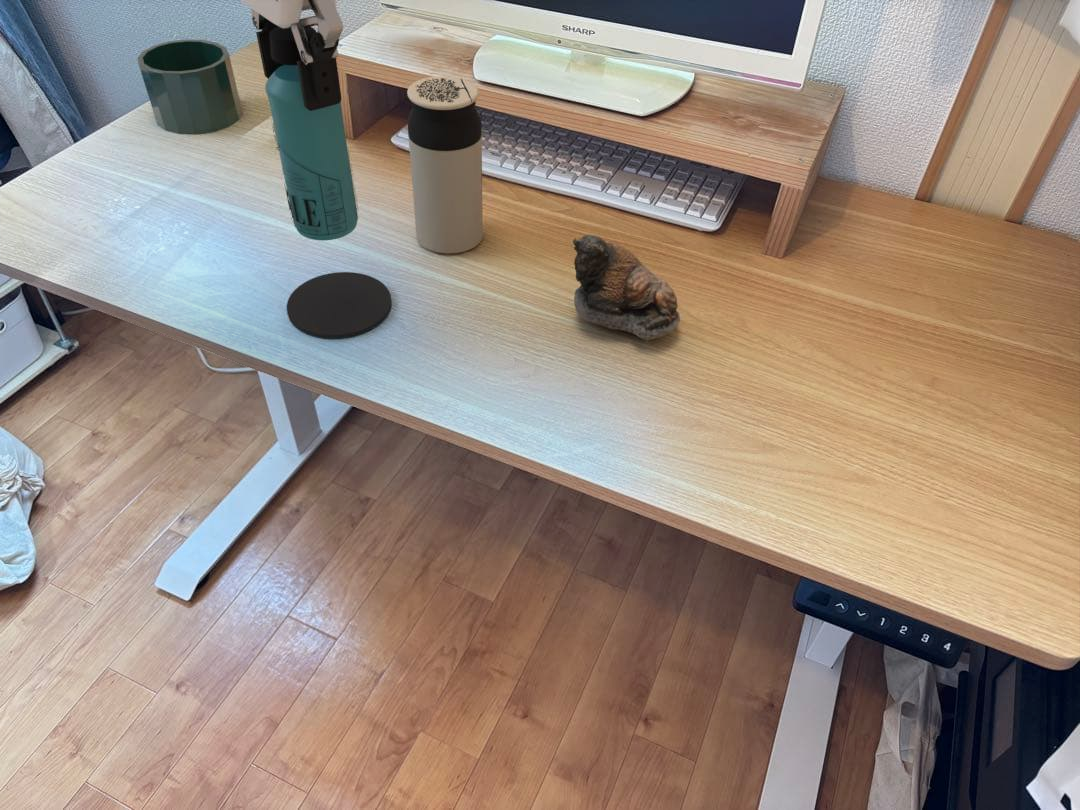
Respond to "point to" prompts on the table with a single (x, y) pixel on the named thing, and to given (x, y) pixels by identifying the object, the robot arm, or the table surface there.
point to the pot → (190, 86)
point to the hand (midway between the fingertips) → (302, 88)
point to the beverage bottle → (310, 149)
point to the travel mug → (446, 163)
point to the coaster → (339, 305)
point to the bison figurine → (621, 291)
